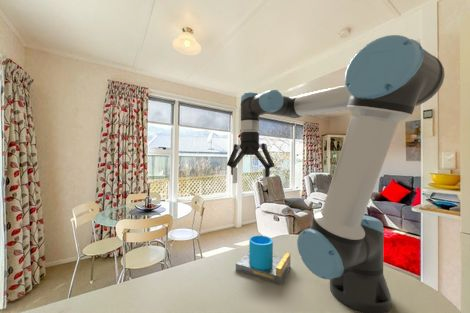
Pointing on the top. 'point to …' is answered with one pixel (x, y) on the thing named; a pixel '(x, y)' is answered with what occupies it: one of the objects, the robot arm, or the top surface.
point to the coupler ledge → (271, 274)
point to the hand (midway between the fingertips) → (249, 184)
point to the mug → (261, 252)
